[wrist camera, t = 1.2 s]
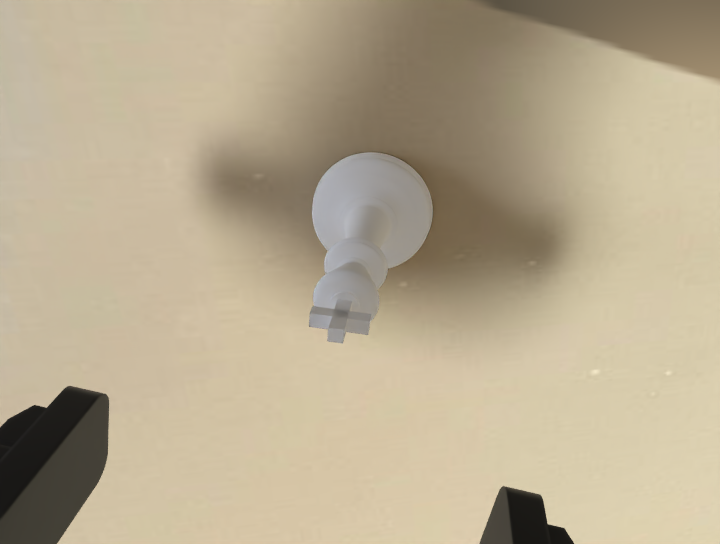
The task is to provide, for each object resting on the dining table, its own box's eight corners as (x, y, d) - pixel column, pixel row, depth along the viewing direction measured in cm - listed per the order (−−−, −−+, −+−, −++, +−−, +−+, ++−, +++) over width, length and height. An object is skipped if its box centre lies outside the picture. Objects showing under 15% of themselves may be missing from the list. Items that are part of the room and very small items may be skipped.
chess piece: (316, 144, 26) (248, 240, 17) (440, 160, 26) (438, 266, 17) (309, 257, 28) (245, 396, 19) (424, 272, 28) (414, 420, 19)
